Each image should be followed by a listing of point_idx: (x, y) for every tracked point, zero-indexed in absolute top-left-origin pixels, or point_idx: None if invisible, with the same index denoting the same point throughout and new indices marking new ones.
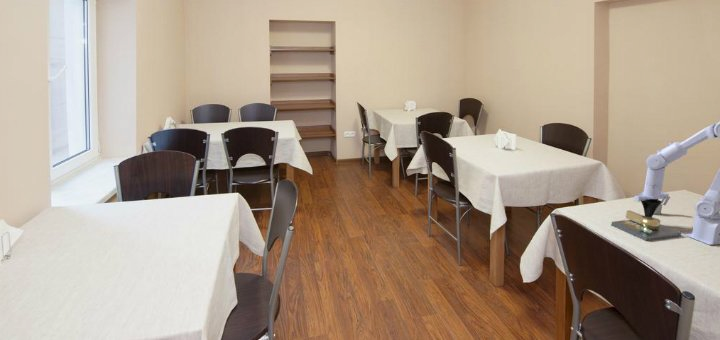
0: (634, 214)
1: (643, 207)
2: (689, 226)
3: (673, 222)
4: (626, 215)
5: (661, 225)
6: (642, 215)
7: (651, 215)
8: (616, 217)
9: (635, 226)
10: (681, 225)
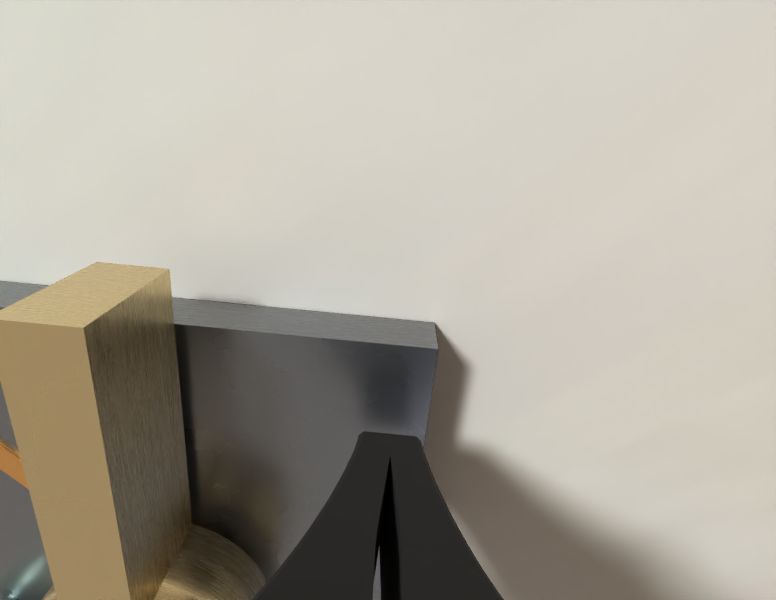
0: (41, 485)
1: (294, 550)
2: (761, 594)
3: (761, 474)
4: (64, 288)
5: (377, 588)
6: (119, 586)
7: (378, 549)
8: (157, 3)
9: (25, 512)
10: (721, 554)
